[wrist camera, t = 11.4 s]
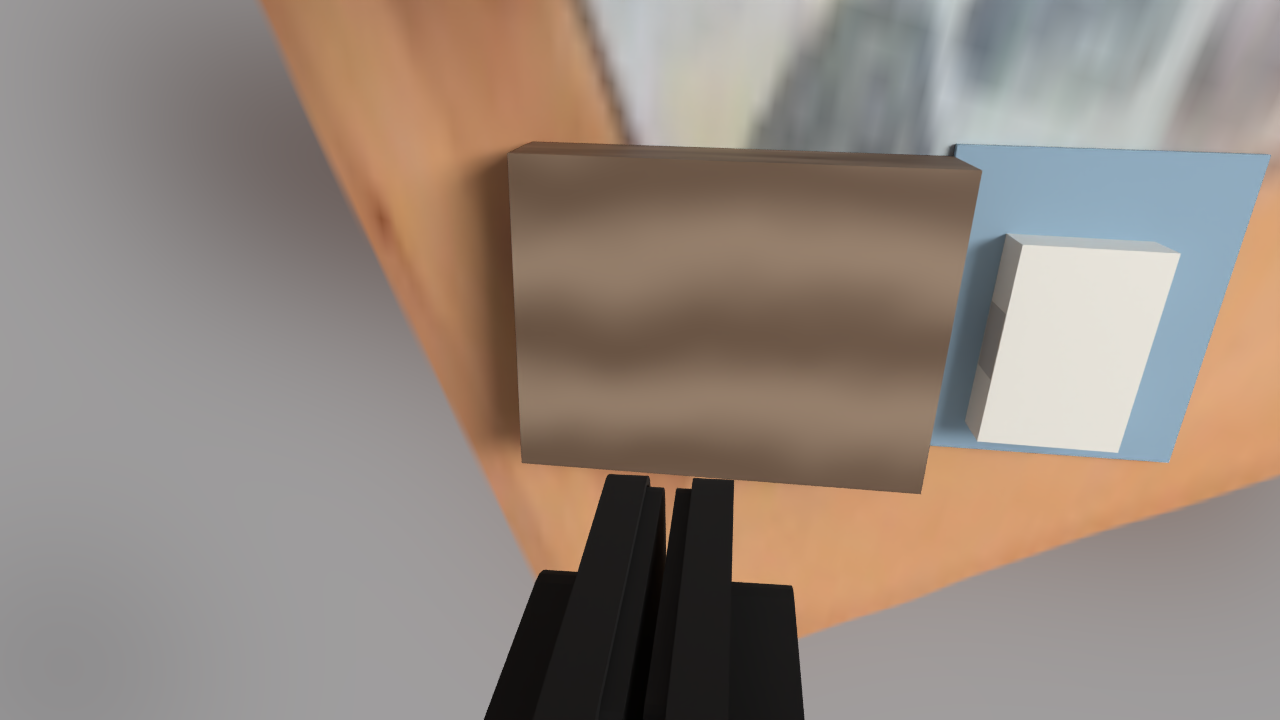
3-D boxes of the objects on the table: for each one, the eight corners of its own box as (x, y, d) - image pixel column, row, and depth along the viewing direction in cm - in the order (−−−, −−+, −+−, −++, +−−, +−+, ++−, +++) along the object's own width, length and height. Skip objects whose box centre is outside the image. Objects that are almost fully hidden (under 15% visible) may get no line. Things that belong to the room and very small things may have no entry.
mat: (955, 143, 31) (957, 144, 31) (1266, 154, 30) (1271, 155, 30) (903, 440, 37) (905, 443, 36) (1165, 459, 36) (1168, 462, 35)
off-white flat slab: (1181, 253, 30) (1155, 241, 32) (1022, 244, 30) (1006, 233, 32) (1118, 452, 33) (1098, 431, 35) (976, 441, 34) (964, 421, 36)
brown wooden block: (532, 141, 33) (507, 153, 30) (953, 156, 32) (982, 170, 28) (542, 423, 39) (521, 463, 35) (902, 449, 37) (920, 493, 33)
